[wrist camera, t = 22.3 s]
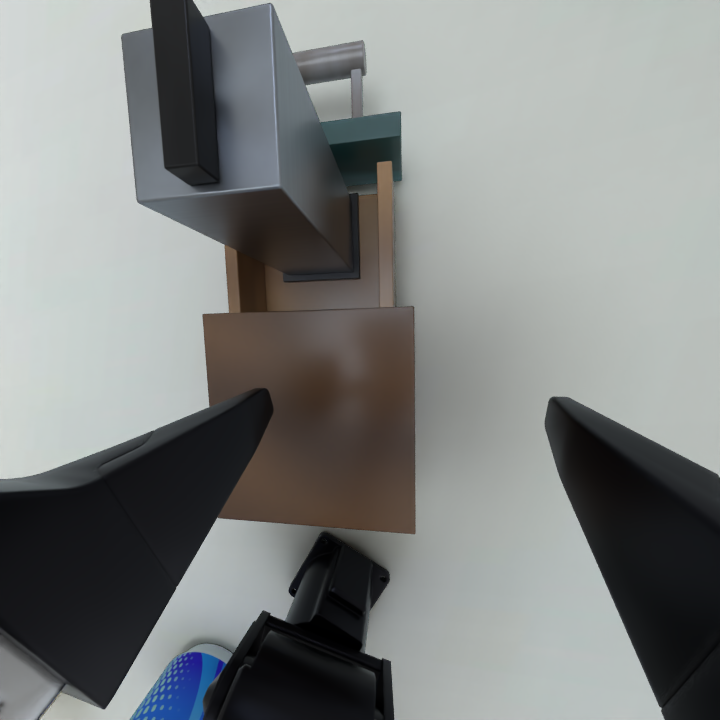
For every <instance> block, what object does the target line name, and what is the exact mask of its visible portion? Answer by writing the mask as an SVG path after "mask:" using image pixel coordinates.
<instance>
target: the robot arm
mask: <svg viewBox="0 0 720 720" xmlns="http://www.w3.org/2000/svg"><path fill="white" fill-rule="evenodd" d="M273 412H274V407H273V403H272V400H271V396H270V393H269V390H268V389H266V388H254V389H252V390H250V391H247V392H245V393H242V394H240V395H238V396H235V397H233V398H230V399H228V400H225V401H223V402H221V403H218V404H216V405H213V406H211V407H209V408H206V409H204V410H201V411H199V412H197V413H194V414H192V415H189V416H187V417H185V418H182V419H180V420H177V421H175V422H173V423H170V424H168V425H165V426H163V427H161V428H158V429H156V430H155V431H151V432H148V433H146V434H144V435H141V436H139V437H136V438H134V439H131V440H129V441H126V442H124V443H121V444H119V445H116V446H114V447H111V448H108V449H106V450H103V451H101V452H98V453H95V454H93V455H90V456H87V457H84V458H82V459H79V460H76V461H74V462H71V463H68V464H66V465H63V466H60V467H58V468H55V469H52V470H50V471H47V472H44V473H41V474H37V475H33V476H28V477H23V478H14V479H0V720H39V718H40V717H41V716H42V714H43V713H44V712H45V711H46V709H47V708H48V707H49V706H50V704H51V703H52V702H53V701H54V699H55V698H56V697H57V695H58V694H59V693H60V692H63V693H65V694H68V695H70V696H73V697H75V698H77V699H80V700H82V701H85V702H87V703H89V704H92V705H94V706H96V707H99V708H101V709H105V708H106V707H107V706H108V704H109V703H110V701H111V700H112V698H113V697H114V695H115V693H116V692H117V690H118V688H119V686H120V685H121V683H122V681H123V679H124V678H125V676H126V674H127V673H128V671H129V669H130V667H131V666H132V664H133V662H134V661H135V659H136V657H137V655H138V654H139V652H140V650H141V648H142V647H143V645H144V643H145V642H146V640H147V638H148V636H149V635H150V633H151V631H152V629H153V628H154V626H155V624H156V623H157V621H158V619H159V617H160V616H161V614H162V612H163V611H164V609H165V607H166V605H167V604H168V602H169V600H170V598H171V597H172V595H173V593H174V592H175V590H176V587H177V586H178V584H179V583H180V581H181V579H182V577H183V576H184V574H185V572H186V571H187V569H188V567H189V565H190V564H191V562H192V560H193V558H194V557H195V555H196V553H197V552H198V550H199V548H200V546H201V545H202V543H203V541H204V540H205V538H206V536H207V534H208V533H209V531H210V529H211V527H212V526H213V524H214V522H215V521H216V519H217V517H218V515H219V514H220V512H221V510H222V509H223V507H224V505H225V503H226V502H227V500H228V498H229V496H230V495H231V493H232V491H233V490H234V488H235V486H236V484H237V483H238V481H239V479H240V478H241V476H242V474H243V472H244V471H245V469H246V467H247V466H248V464H249V462H250V460H251V459H252V457H253V455H254V453H255V452H256V450H257V448H258V446H259V444H260V441H261V439H262V437H263V435H264V433H265V430H266V428H267V426H268V424H269V422H270V419H271V417H272V415H273ZM545 429H546V433H547V436H548V440H549V443H550V446H551V450H552V453H553V457H554V460H555V463H556V467H557V470H558V473H559V476H560V479H561V481H562V484H563V486H564V488H565V491H566V493H567V495H568V498H569V500H570V502H571V504H572V507H573V509H574V511H575V514H576V516H577V518H578V521H579V523H580V525H581V527H582V530H583V532H584V534H585V537H586V539H587V541H588V544H589V546H590V548H591V550H592V553H593V555H594V557H595V560H596V562H597V564H598V567H599V569H600V571H601V573H602V576H603V578H604V580H605V583H606V585H607V587H608V589H609V592H610V594H611V596H612V599H613V601H614V603H615V606H616V608H617V610H618V612H619V615H620V617H621V619H622V622H623V624H624V626H625V629H626V631H627V633H628V635H629V638H630V640H631V642H632V645H633V647H634V649H635V651H636V654H637V656H638V658H639V661H640V663H641V665H642V668H643V670H644V672H645V674H646V677H647V679H648V681H649V684H650V686H651V688H652V691H653V693H654V695H655V697H656V700H657V702H658V704H659V706H660V707H661V708H662V710H661V712H662V714H663V717H664V719H665V720H720V478H719V476H718V475H717V474H716V473H714V472H712V471H710V470H708V469H706V468H704V467H702V466H700V465H698V464H696V463H694V462H692V461H691V460H689V459H687V458H685V457H683V456H681V455H679V454H677V453H675V452H673V451H671V450H669V449H667V448H665V447H663V446H661V445H660V444H658V443H656V442H654V441H652V440H650V439H648V438H646V437H644V436H642V435H640V434H638V433H636V432H634V431H632V430H630V429H629V428H627V427H625V426H623V425H621V424H619V423H617V422H615V421H613V420H611V419H609V418H607V417H605V416H603V415H601V414H600V413H598V412H596V411H594V410H592V409H590V408H588V407H586V406H584V405H582V404H580V403H578V402H576V401H574V400H572V399H571V398H568V397H551V398H550V400H549V402H548V407H547V412H546V417H545ZM323 539H326V540H327V541H324V540H323ZM381 576H385V578H383V577H381ZM389 580H390V574H389V572H388V571H387V570H386V569H384V568H382V567H381V566H379V565H378V564H376V563H374V562H373V561H371V560H370V559H368V558H366V557H365V556H363V555H362V554H360V553H359V552H357V551H355V550H354V549H352V548H351V547H349V546H347V545H346V544H344V543H343V542H341V541H339V540H338V539H336V538H335V537H333V536H331V535H330V534H328V533H326V532H323V533H321V534H320V536H319V537H318V539H317V541H316V542H315V544H314V546H313V547H312V549H311V551H310V553H309V554H308V556H307V558H306V559H305V561H304V563H303V565H302V566H301V568H300V570H299V571H298V573H297V575H296V576H295V578H294V580H293V582H292V583H291V585H290V587H289V593H290V595H291V596H293V597H294V600H293V603H292V605H291V608H290V610H289V613H288V615H287V618H286V620H285V621H283V620H281V619H278V618H276V617H273V616H271V615H270V614H271V613H269V612H266V611H264V610H263V611H262V612H261V614H260V616H259V617H258V619H257V620H256V621H254V622H253V623H252V625H251V627H250V628H249V630H248V631H247V633H246V634H245V636H244V637H243V639H242V641H241V642H240V644H239V645H238V647H237V648H236V650H235V652H234V653H233V655H232V656H231V658H230V659H229V661H228V663H227V664H226V666H225V667H224V669H223V670H222V671H221V673H220V674H219V675H218V676H217V677H216V678H215V679H214V681H213V682H212V683H211V684H210V685H209V687H208V689H207V691H206V693H205V695H204V698H203V701H202V702H203V712H204V717H203V720H394V707H393V691H392V675H391V661H388V660H386V659H383V658H382V660H380V659H378V658H375V657H373V656H370V655H368V654H366V653H365V646H366V638H367V630H368V621H369V613H370V610H371V609H372V607H373V606H374V604H375V603H376V601H377V600H378V598H379V596H380V595H381V593H382V592H383V590H384V589H385V587H386V586H387V584H388V583H389ZM295 589H296V590H295Z"/></svg>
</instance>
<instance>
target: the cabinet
mask: <svg viewBox="0 0 720 720" xmlns="http://www.w3.org/2000/svg"><path fill="white" fill-rule="evenodd" d="M203 327H204V340H205V353H206V366H207V380H208V393H209V406H210V407H211V406H213V405H216V404H218V403H221V402H223V401H225V400H228V399H230V398H233V397H235V396H238V395H240V394H242V393H245V392H247V391H250V390H252V389H254V388H266V389H268V390H269V393H270V396H271V400H272V403H273V407H274V412H273V415H272V417H271V419H270V422H269V424H268V426H267V428H266V430H265V433H264V435H263V437H262V439H261V441H260V444H259V446H258V448H257V450H256V452H255V453H254V455H253V457H252V459H251V460H250V462H249V464H248V466H247V467H246V469H245V471H244V472H243V474H242V476H241V478H240V479H239V481H238V483H237V484H236V486H235V488H234V490H233V491H232V493H231V495H230V496H229V498H228V500H227V502H226V503H225V505H224V507H223V509H222V510H221V512H220V514H219V515H218V518H223V519H236V520H248V521H260V522H272V523H284V524H297V525H309V526H321V527H333V528H345V529H358V530H370V531H382V532H394V533H406V534H415V352H414V307H413V306H409V307H381V308H354V309H327V310H299V311H272V312H245V313H217V314H203Z"/></svg>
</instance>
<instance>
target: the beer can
mask: <svg viewBox="0 0 720 720" xmlns="http://www.w3.org/2000/svg"><path fill="white" fill-rule="evenodd" d="M232 655H233V654H232V653H231V652H230V651H228V650H227V649H225V648H223V647H221V646H218V645H215V644H199V645H196V646H194V647H192V648H191V649H190V650H188V651H187V652H184V653H182V654H180V655H178V656H176V657H175V658H174V659H173V660H172V661H171V662H170V663H169V664H168V666H167V667H166V669H165V670H164V672H163V673H162V674H161V676H160V677H159V679H158V680H157V682H156V683H155V684H154V686H153V687H152V689H151V690H150V691H149V693H148V694H147V696H146V697H145V699H144V700H143V701H142V703H141V704H140V706H139V707H138V708H137V710H136V711H135V713H134V714H133V716H132V717H131V718H130V720H203V717H204V712H203V702H202V701H203V698H204V695H205V693H206V691H207V689H208V687H209V685H210V684H211V683H212V682H213V681H214V679H215V678H216V677H217V676H218V675H219V674H220V673H221V671H222V670H223V669H224V667H225V666H226V664H227V663H228V661H229V659H230V658H231V656H232Z"/></svg>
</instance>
